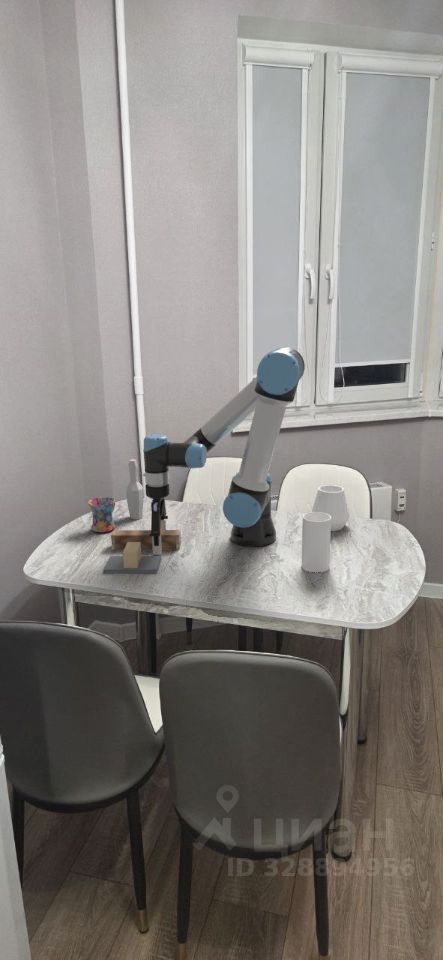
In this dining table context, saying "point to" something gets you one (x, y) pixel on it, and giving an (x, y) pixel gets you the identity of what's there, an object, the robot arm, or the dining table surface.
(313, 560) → the cup
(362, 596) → the dining table surface
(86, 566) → the dining table surface
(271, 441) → the robot arm
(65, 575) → the dining table surface
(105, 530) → the mug
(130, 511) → the low poly bottle
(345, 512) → the white tapered vase
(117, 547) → the beam
